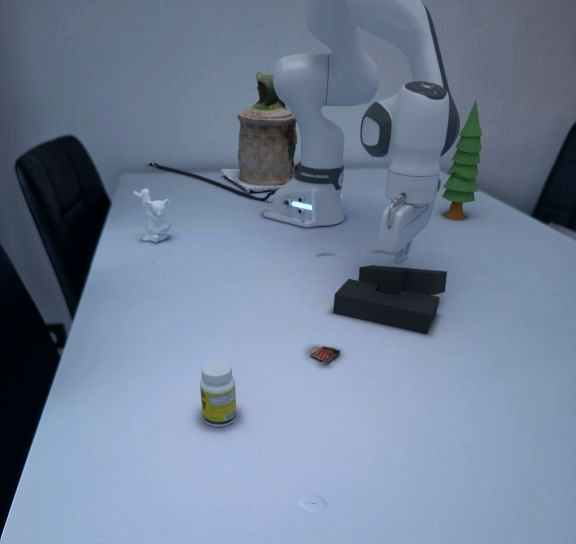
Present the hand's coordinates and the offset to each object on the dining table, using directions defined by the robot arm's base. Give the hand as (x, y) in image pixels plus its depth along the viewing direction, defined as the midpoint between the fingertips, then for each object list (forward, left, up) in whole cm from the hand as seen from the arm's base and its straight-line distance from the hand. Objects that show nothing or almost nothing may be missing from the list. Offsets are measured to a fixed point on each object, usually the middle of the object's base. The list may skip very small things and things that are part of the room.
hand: (400, 262), depth 102 cm
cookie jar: (-63, +69, -8) cm, 94 cm away
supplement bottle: (-12, -48, -8) cm, 50 cm away
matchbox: (-5, -26, -8) cm, 28 cm away
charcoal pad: (0, -7, -8) cm, 11 cm away
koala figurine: (-62, +6, -8) cm, 63 cm away
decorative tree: (+1, +62, -8) cm, 62 cm away
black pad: (0, 0, -6) cm, 6 cm away
